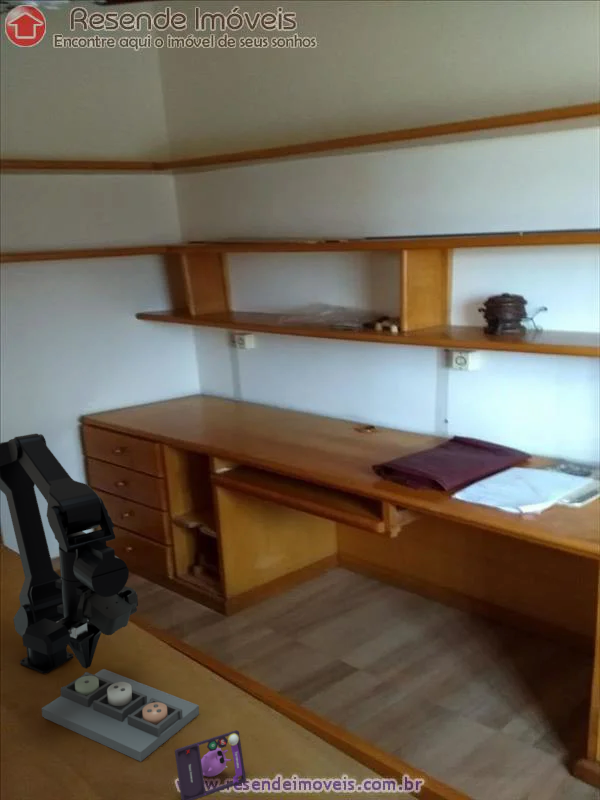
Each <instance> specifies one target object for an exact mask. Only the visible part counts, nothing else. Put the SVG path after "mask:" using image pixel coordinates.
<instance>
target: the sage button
mask: <svg viewBox="0 0 600 800" xmlns="http://www.w3.org/2000/svg"><path fill="white" fill-rule="evenodd" d="M80 677H81V676H80ZM78 678H79V677H78ZM78 678H76V679H77V680H76V679H75V680H76V682H75V692H77V693H80V694H82V695H85V696H88V695H89V694H91V693H92V692H94V691H95V690H97V689H98V688H99V680H98V678H97V677H95V676H84V677H81V678H79V679H78Z"/></svg>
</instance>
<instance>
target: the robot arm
mask: <svg viewBox="0 0 600 800" xmlns="http://www.w3.org/2000/svg"><path fill="white" fill-rule="evenodd" d="M69 474H70V473H68V472H67V471H66V469H65V468H64V467H63V466H62V464H61V463H60V461H59V459H58V458H57V457H56V456H55V455H54V453H53V452H52V451H51V449H50V448H49V447H48V445H47V441H46V438H45V436H44V435H43V434H41V433H40V434H39V433H31V434H30V433H29V434H25V435H20V436H19V435H18V436H14V437H13V438H10V439H9V440H8V441H3V442H0V491H1V492H2V493H3V494H4V495H5V497H6V502H7V506H8V510H9V515H10V517H11V518H10V520H11V523H12V527H13V532H14V535H15V539H16V544H17V549H18V553H19V557H20V558H19V559H20V561H21V566H22V569H23V574H24V581H23V583H22V587H21V589H20V593H19V596H18V598H19V604H20V606H19V607H18V610H17V611H16V614H15V615H14V617H13V618H12V619H13V623H14V629H15V632H17V634H18V635H19V636H20V637H21V638H22V647H25V648H26V657H23V659H20V661H19V664H20V665H22V666H24V667H26V668H29V669H30V670H34V671H36V672H37V673H38V672H39V673H40V674H48V673H50V672H52V671H53V670H56V669H57V668H58V667H60V666H61V665H62V666H63V664H65V663H67V662H68V661H70V660H72V659H73V658H74V656H75V658H76V659H77V661H78V662H79V664H80V666H81V667H82V668H84V669H89V668H90V667H92V664H93V663H92V662H93V660H94V656H95V653H96V650H97V646H98V643H99V640H100V637H101V635H102V634H103V635H105V636H111V635H113V634H115V633H116V632H117V631H119V630H120V629H122V628H125V627H127V626H128V624H129V620H130V616H131V615H134V613H137V611H138V609H137V607H138V606H139V602H138V601H139V598H138V594H137V591H136V590H135V589H134V588H133V587H130V586H129V587H128V586H126V585H127V582H128V580H129V574H130V570H129V568H128V565H127V564H126V562H125V561H124V560H123V559H122V558H120V557H118V556H117V555H116V552H115V549H114V548H113V547H111V546H108V545H107V542H109V541H113V540H115V539H116V535H115V531H114V528H115V524H114V523H113V520H112V518H111V515H110V513H109V511H108V509H107V507H106V505H105V503H104V501H103V499H102V497H100V496H99V494H98V493H97V492H96V491H94V490H93V489H92V487H90V486H89V485H88V484H87V483H84V482H80V481H78V480H77V481H76V480H74V479H73V478H72V477H71V476H70V475H69ZM35 487H36V488H37V489H38V491H39V492H40V494H42V496H43V498H44V499H45V501H46V503H47V508H46V518H47V522H48V524H49V527H50V530H51V531H52V534H53V535H54V539H55V540H56V541H57V544H58V555H59V557H58V558H59V569H60V574H58V572H57V571H55V570H54V566H53V562H52V558H51V553H50V549H49V545H48V539H47V537H46V533H45V529H44V523H43V520H42V516H41V511H40V507H39V503H38V499H37V496H36V495H37V494H36V490H35ZM99 527H100V528H101V529H97V528H99ZM92 529H97V530H94V531H90V532H86V531H89V530H92ZM67 647H69V648H70V649H71V652H72V653H71V652H69V651H68V649H67Z"/></svg>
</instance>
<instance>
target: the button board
mask: <svg viewBox="0 0 600 800" xmlns="http://www.w3.org/2000/svg"><path fill="white" fill-rule="evenodd" d="M84 676H95V677H97V678H98V680H99V688H98V689H97V690H95V691H94V692H92V693H91V694H89V695H88V696H85V695H82V694H80V693H77V692H75V682H76V680H77V679H79V678H81V677H84ZM117 682H127V683H129V684H130V685H131V687H132V700H131V701H130V702H129V703H128V704H126V705H123V706H113V705H110V704H109V703H108V694H107V689H108V687H109V686H110V685H112V684H114V683H117ZM154 702H160V703H163V704H165V705H166V706H167V717H166V718H165V719H164V720H162V721H161V722H160V723H159V724H157V725H154V724H152V723H150V722H147V721H145V720H143V713H142V710H143V708H144V707H145V706H146V705H147V704H150V703H154ZM199 715H200V705H198V704H197V703H193V702H191V701H188V700H187V699H186V700H185V699H183V698H181V697H178V696H175V695H173V694H170V693H167V692H166V691H162V690H159V689H158V688H155V687H152V686H149V685H146V684H145V683H141V682H139V681H137V680H134V679H131V678H129V677H126V676H124V675H121V674H118V673H115V672H113V671H111V670H109V669H108V670H107V669H106V668H103V669H100V670H99V671H98V672H96V673H95V674H92V673H90V672H88V671H86V672H84V673H83V675H80V676H79V677H78V678H76V679H74V680H73V681H71V682H69V683H68V684H67V685H65V686H61V687H60V696H59V697H57V698H55V699H53V701H51V702H50V703H48V704H46V705H44V706H43V707H41V717H42V718H43V717H44V719H46V720H48V721H49V722H52V723H55V724H56V725H58V726H61V727H64V728H66V729H67V730H70V731H71V732H72V731H73V732H74V733H76V734H78V735H80V736H83V737H85V738H88V739H90V740H92V741H94V742H95V743H96V742H97V743H99V744H101V745H102V746H105V747H107V748H110V749H112V750H115V751H116V752H118V753H121V754H123V755H125V756H127V757H129V758H132V759H134V760H136V761H138V762H142V761H144V760H145V759H146V758H147V757H149V755H151V754H152V753H153V752H155V751H156V750H157V749H159V748H160V747H161V746H162V745H163V744H165V743H166V742H167V741H168V740H170V739H171V738H172V737H173V736H174V735H176V733H178V732H179V731H180V730H182V729H183V728H184V727H186V725H188V724H189V723H191V721H193V720H194V719H195V718H197V717H198V716H199Z"/></svg>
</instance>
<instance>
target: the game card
mask: <svg viewBox="0 0 600 800" xmlns="http://www.w3.org/2000/svg"><path fill="white" fill-rule="evenodd" d="M240 736H241V735H240V731H239V730H236V729H234V730H232V731H230V732H226V733H223V734H220V735H217V736H213V737H211V738H208V739H204V740H202V741H198V742H195V743H192V744H189V745H185V746H182V747H179V748H176V749H175V750H174V754H175V755H174V756H175V761H176V762H175V763H176V770H177V777H178V784H179V790H180V793H179V794H180V799H181V800H197V799H199V798H202V797H205V796H208V795H211V794H213V793H217V792H219V791H223V790H225V789H229V788H230V787H233V786H237V785H239V784H242V783H244V782H246V781H247V777H246V771H245V765H244V757H243V750H242V743H241V737H240ZM227 737H228V738H227ZM204 744H207V745H206V747H207V749H208V750H209V751H208V752H207V753H206V754H204V755H203V756H202V757H201V752H200V746H201V745H204ZM227 744H228V745H230V748H231V753H232V757H233V765H234V771H235V775H234V776H233V777H232V780H233V781H231V782H228V783H225V784H222V785H220V786H217V787H213V788H212V789H208V790H206V786H205V779H204V777H215V776H217V775H219V774H221V773H222V772H223V771H224V770H225V769H226V768H228V766H227V762H231V761H232V759H231V758H227V757H226V754H227V752H229V749H225V750H222V748H226V747H227ZM239 777H241V778H239Z"/></svg>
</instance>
